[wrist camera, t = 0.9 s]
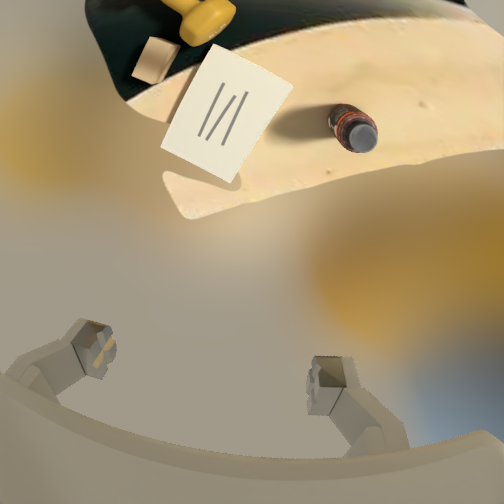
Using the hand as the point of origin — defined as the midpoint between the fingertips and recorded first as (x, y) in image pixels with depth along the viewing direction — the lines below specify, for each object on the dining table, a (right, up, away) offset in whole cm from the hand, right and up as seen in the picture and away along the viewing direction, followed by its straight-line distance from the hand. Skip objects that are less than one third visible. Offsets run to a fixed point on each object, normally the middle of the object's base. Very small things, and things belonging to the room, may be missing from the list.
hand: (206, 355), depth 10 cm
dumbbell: (-9, +43, +19) cm, 48 cm away
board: (-3, +26, +32) cm, 41 cm away
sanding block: (-13, +35, +26) cm, 46 cm away
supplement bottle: (+17, +25, +31) cm, 43 cm away
